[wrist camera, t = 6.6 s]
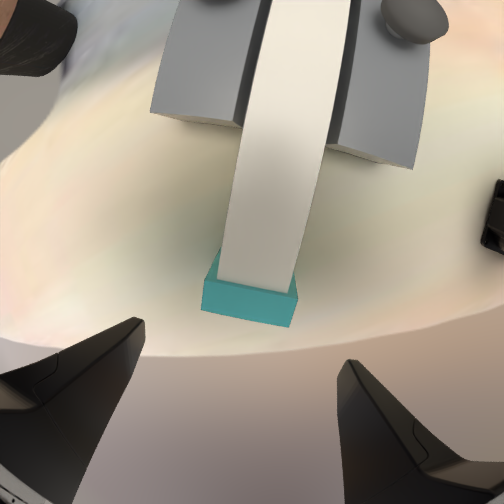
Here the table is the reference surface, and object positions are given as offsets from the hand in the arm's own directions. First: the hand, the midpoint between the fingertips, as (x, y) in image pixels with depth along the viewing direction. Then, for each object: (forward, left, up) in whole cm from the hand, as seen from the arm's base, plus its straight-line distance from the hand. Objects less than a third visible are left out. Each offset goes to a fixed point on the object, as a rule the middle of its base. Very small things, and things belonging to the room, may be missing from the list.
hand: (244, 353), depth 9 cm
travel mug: (+23, -15, -12) cm, 30 cm away
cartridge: (0, -8, -11) cm, 14 cm away
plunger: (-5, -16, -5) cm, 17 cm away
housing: (0, -13, -12) cm, 18 cm away
